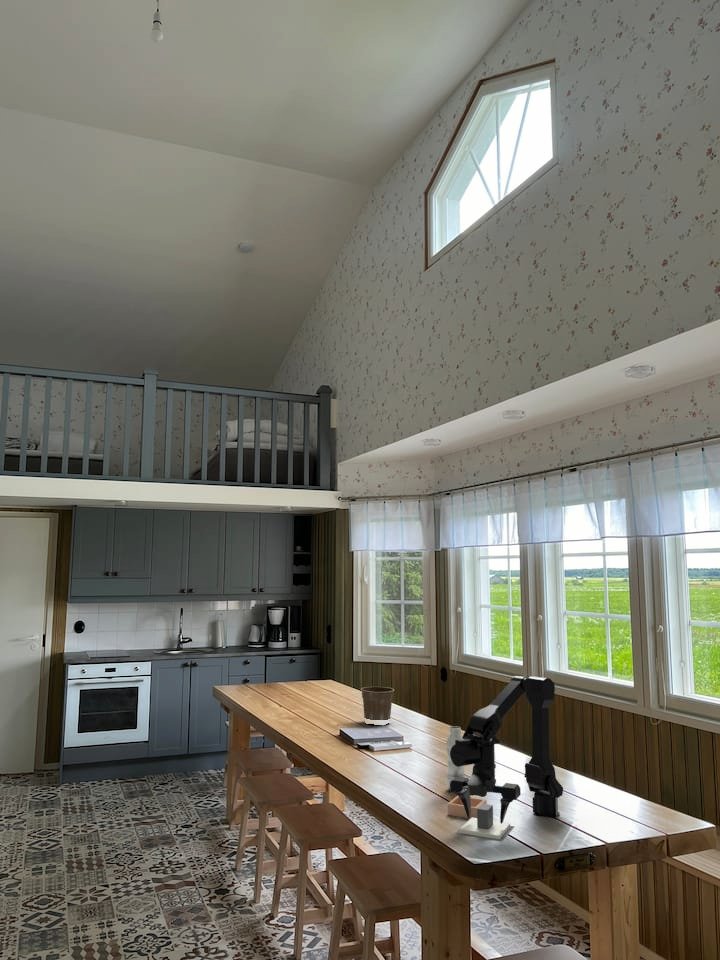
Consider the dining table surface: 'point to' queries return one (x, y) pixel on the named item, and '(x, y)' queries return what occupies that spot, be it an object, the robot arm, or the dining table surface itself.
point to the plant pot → (377, 702)
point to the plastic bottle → (452, 769)
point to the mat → (489, 838)
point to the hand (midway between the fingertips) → (485, 820)
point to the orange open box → (458, 808)
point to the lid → (485, 824)
